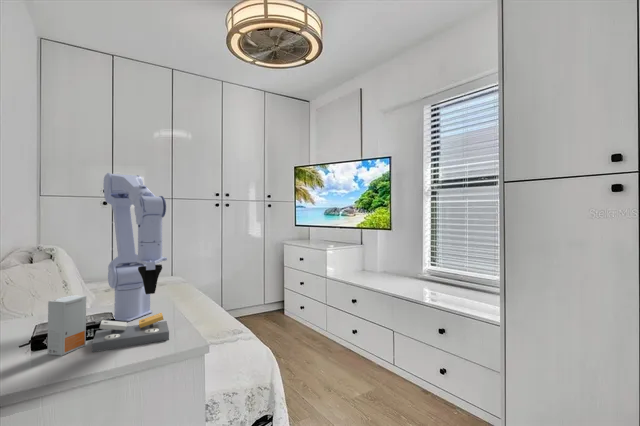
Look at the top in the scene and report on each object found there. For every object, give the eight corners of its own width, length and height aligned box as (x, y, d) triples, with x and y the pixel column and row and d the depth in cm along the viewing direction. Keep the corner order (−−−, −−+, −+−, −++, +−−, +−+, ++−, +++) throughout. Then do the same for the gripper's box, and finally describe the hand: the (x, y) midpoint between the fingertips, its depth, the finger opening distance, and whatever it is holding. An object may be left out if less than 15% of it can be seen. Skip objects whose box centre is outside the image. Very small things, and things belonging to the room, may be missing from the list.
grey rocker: (99, 328, 80) (100, 324, 80) (100, 324, 83) (101, 319, 83) (125, 330, 82) (126, 325, 83) (125, 326, 85) (127, 321, 86)
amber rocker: (139, 328, 84) (138, 324, 84) (139, 324, 87) (138, 320, 87) (163, 319, 87) (162, 315, 86) (162, 315, 90) (161, 312, 89)
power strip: (91, 352, 75) (91, 341, 75) (96, 338, 83) (96, 328, 83) (169, 339, 83) (169, 329, 83) (166, 328, 91) (166, 318, 91)
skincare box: (62, 356, 73) (62, 302, 73) (46, 354, 74) (46, 301, 74) (87, 345, 79) (87, 295, 79) (72, 344, 80) (72, 294, 80)
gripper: (168, 243, 82) (168, 297, 82) (165, 239, 95) (165, 286, 95) (136, 244, 79) (136, 301, 79) (137, 240, 92) (137, 288, 92)
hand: (150, 293), depth 87 cm, fingers closed
